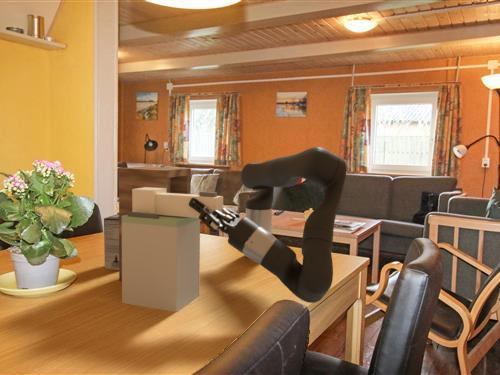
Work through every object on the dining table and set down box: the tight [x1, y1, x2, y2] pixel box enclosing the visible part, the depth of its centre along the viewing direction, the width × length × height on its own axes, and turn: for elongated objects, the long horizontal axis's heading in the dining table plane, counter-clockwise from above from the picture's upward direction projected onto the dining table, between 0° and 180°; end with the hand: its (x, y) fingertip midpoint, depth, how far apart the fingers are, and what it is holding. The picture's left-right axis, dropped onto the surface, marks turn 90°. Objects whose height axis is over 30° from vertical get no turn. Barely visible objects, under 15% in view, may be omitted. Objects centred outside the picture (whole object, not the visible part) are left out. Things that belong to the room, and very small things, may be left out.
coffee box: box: [103, 213, 119, 271], centre depth 137 cm, size 9×6×16 cm
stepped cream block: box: [132, 187, 224, 218], centre depth 105 cm, size 6×22×6 cm, turn 71°
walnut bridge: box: [118, 166, 192, 282], centre depth 125 cm, size 14×15×32 cm
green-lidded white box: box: [121, 212, 201, 313], centre depth 108 cm, size 12×15×22 cm
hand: (195, 200), depth 104 cm, fingers closed on stepped cream block, 4 cm apart
